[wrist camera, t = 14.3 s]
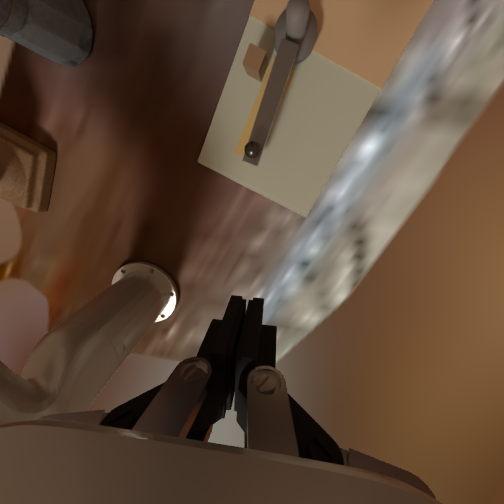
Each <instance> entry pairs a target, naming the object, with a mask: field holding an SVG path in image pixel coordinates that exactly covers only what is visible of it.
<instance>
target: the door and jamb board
mask: <svg viewBox="0 0 504 504" xmlns="http://www.w3.org/2000/svg"><path fill="white" fill-rule="evenodd" d="M433 1H434V0H255V1H254V4H253V7H252V9H251V12H250V17H249V19H248V22H247V25H246V28H245V30H244V33H243V36H242V39H241V42H240V44H239V47H238V50H237V53H236V56H235V58H234V61H233V64H232V67H231V69H230V72H229V75H228V78H227V81H226V83H225V86H224V89H223V92H222V95H221V97H220V100H219V103H218V106H217V108H216V111H215V114H214V117H213V120H212V122H211V125H210V128H209V131H208V134H207V136H206V139H205V142H204V145H203V148H202V150H201V153H200V156H199V159H198V161H197V162H198V163H200V164H202V165H204V166H206V167H208V168H210V169H212V170H214V171H216V172H218V173H220V174H222V175H224V176H225V177H227V178H229V179H231V180H233V181H235V182H237V183H239V184H241V185H243V186H245V187H247V188H249V189H251V190H253V191H255V192H257V193H259V194H261V195H263V196H265V197H267V198H269V199H271V200H272V201H274V202H276V203H278V204H280V205H282V206H284V207H286V208H288V209H290V210H292V211H294V212H296V213H298V214H300V215H302V216H304V217H306V216H307V215H308V213H309V211H310V210H311V208H312V206H313V205H314V203H315V201H316V199H317V198H318V196H319V194H320V193H321V191H322V189H323V187H324V186H325V184H326V182H327V181H328V179H329V177H330V176H331V174H332V172H333V170H334V169H335V167H336V165H337V164H338V162H339V160H340V158H341V157H342V155H343V153H344V152H345V150H346V148H347V147H348V145H349V143H350V141H351V140H352V138H353V136H354V135H355V133H356V131H357V129H358V128H359V126H360V124H361V123H362V121H363V119H364V118H365V116H366V114H367V112H368V111H369V109H370V107H371V106H372V104H373V102H374V100H375V99H376V97H377V95H378V94H379V92H380V90H381V89H382V87H383V86H384V84H385V82H386V81H387V79H388V77H389V76H390V74H391V72H392V70H393V69H394V67H395V65H396V64H397V62H398V60H399V58H400V57H401V55H402V53H403V52H404V50H405V48H406V47H407V45H408V43H409V41H410V40H411V38H412V36H413V35H414V33H415V31H416V30H417V28H418V26H419V24H420V23H421V21H422V19H423V18H424V16H425V14H426V12H427V11H428V9H429V7H430V6H431V4H432V2H433ZM281 38H284V39H286V40H288V41H291V42H293V43H296V44H298V45H299V49H298V53H297V56H296V59H295V62H294V64H293V67H292V70H291V73H290V76H289V79H288V82H287V84H286V87H285V90H284V93H283V96H282V99H281V102H280V104H279V107H278V110H277V113H276V116H275V119H274V122H273V124H272V127H271V130H270V133H269V136H268V139H267V142H266V145H265V147H264V150H263V153H262V156H261V159H260V162H259V165H258V166H255V165H253V164H250V163H248V162H245V161H242V160H243V157H244V153H245V151H244V149H245V145H246V144H247V143H248V141H249V138H250V135H251V132H252V129H253V125H254V122H255V119H256V116H257V113H258V110H259V107H260V104H261V101H262V97H263V94H264V91H265V88H266V85H267V82H268V79H269V76H270V73H271V70H272V66H273V63H274V60H275V57H276V54H277V51H278V48H279V45H280V42H281Z"/></svg>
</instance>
